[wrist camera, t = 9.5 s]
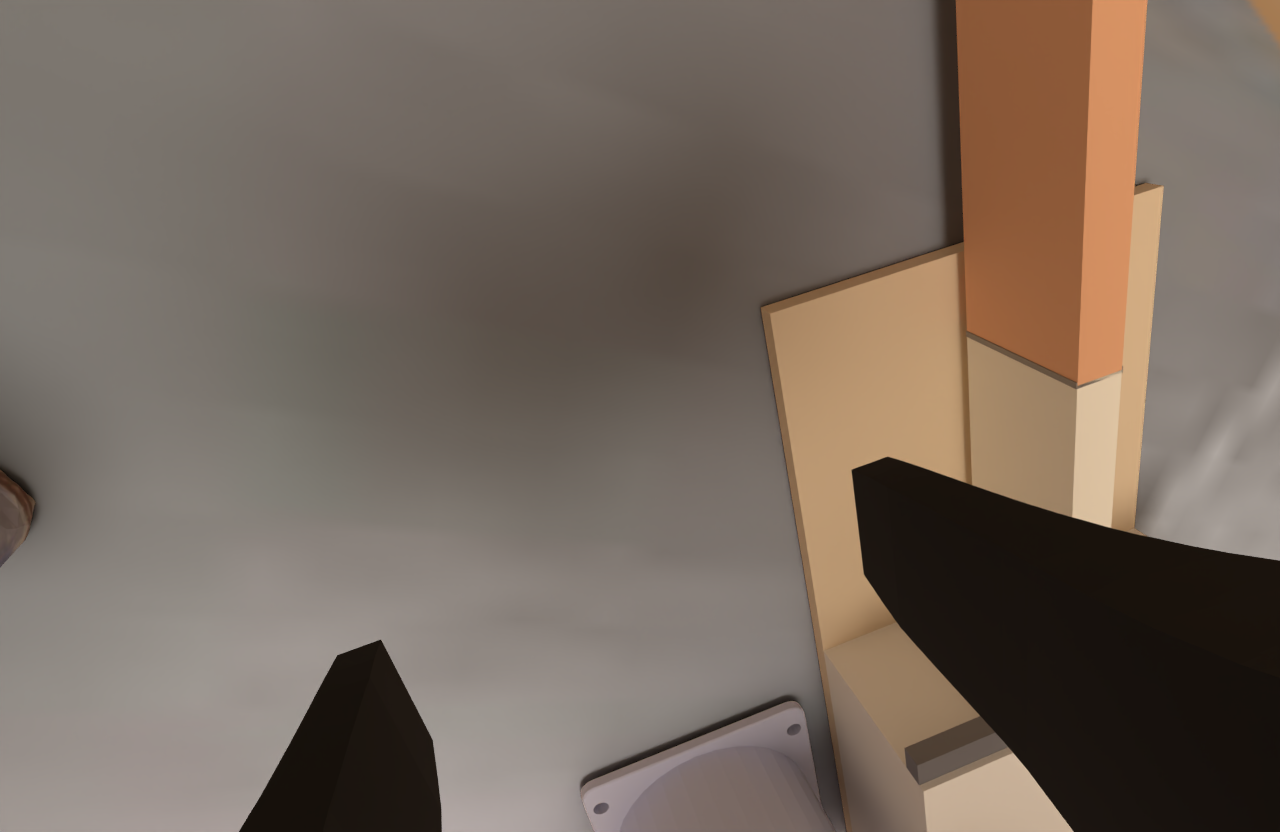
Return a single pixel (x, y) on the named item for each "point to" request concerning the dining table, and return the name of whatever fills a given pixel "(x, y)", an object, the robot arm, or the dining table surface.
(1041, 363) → the long copper stick
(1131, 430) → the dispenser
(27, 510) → the flask
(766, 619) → the dining table surface
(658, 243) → the dining table surface
